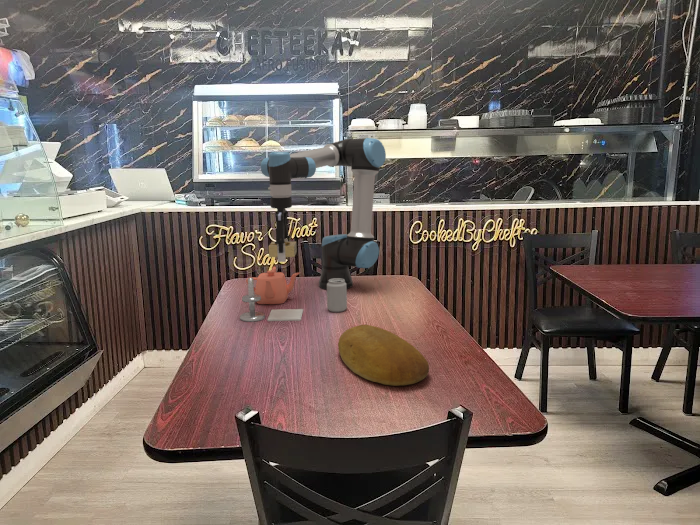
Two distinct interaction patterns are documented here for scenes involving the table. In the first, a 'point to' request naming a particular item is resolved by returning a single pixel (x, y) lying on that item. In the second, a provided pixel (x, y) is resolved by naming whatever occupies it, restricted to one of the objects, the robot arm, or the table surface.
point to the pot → (273, 287)
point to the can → (336, 295)
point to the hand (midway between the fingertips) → (283, 258)
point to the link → (289, 249)
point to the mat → (285, 315)
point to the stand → (251, 305)
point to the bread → (381, 356)
